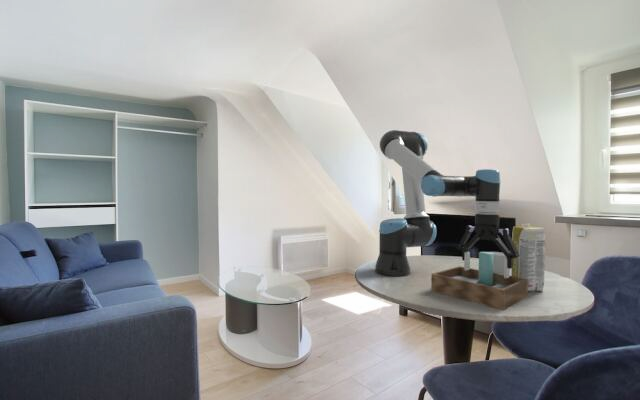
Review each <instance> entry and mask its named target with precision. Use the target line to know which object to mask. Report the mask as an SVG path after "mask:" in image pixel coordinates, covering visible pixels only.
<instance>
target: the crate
mask: <svg viewBox="0 0 640 400" xmlns="http://www.w3.org/2000/svg"><path fill="white" fill-rule="evenodd" d="M478 279H479V269H476V268H471V267H470V270H464V266H462V265H461V266H460V265H459V266H455V267H452V268H451V267H450V268H448V269H444V270H441V271H437V272H433V273H431V284H430V285H431V286H430V289H431V292H435V293H439V294H441V295H442V294H443V295H447V296H451V297H454V298H459V299H461V300H465V301H468V302H473V303H477V304H480V305H484V306H487V307H490V308H495V309H498V310H502V311H504V310H506V309H508V308H510V307H512V306H513V304H514V305H515V304H517V303H520V302H521V301H523V300H524V299H526V298H528V295H529V293H528V292H529V291H528V279H524V278H519V277H514V276H511V275H510V277H509V278H504V275H503V274H498V273H493V286H492V287H491V286H487V285H482V284H478Z"/></svg>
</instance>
